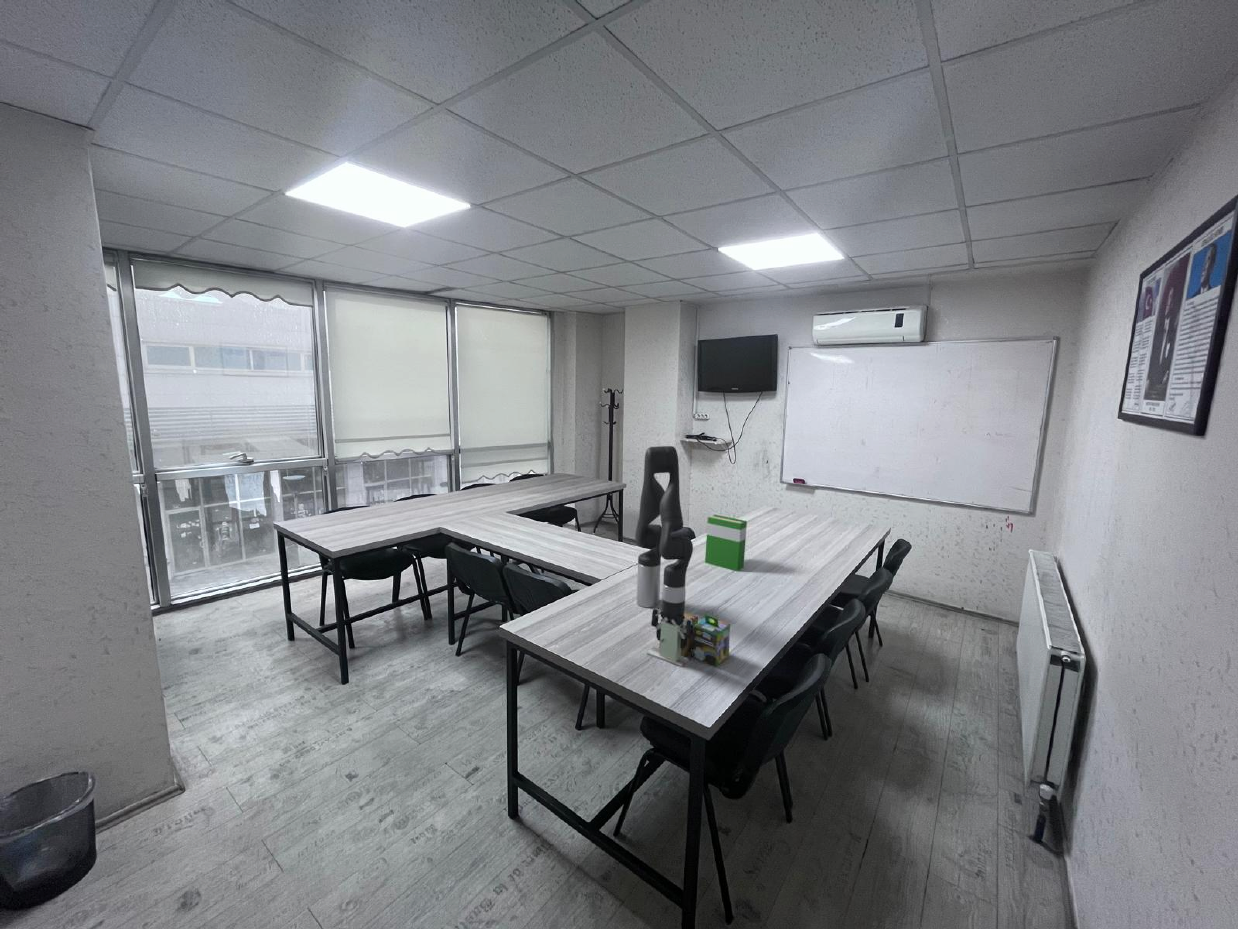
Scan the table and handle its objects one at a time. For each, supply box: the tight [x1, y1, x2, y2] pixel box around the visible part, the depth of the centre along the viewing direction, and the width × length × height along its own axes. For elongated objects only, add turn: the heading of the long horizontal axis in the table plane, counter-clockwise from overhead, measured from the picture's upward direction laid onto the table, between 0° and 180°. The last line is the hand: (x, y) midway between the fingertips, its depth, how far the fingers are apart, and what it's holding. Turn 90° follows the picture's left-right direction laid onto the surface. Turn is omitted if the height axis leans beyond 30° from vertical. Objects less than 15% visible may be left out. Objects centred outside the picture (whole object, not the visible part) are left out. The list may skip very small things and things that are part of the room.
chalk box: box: [692, 613, 731, 667], centre depth 164 cm, size 9×9×15 cm
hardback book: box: [704, 514, 748, 572], centre depth 248 cm, size 18×7×24 cm, turn 52°
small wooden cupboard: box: [646, 611, 699, 668], centre depth 167 cm, size 15×13×11 cm
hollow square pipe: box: [659, 620, 682, 661], centre depth 162 cm, size 4×6×12 cm
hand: (671, 643), depth 162 cm, fingers open, 8 cm apart
